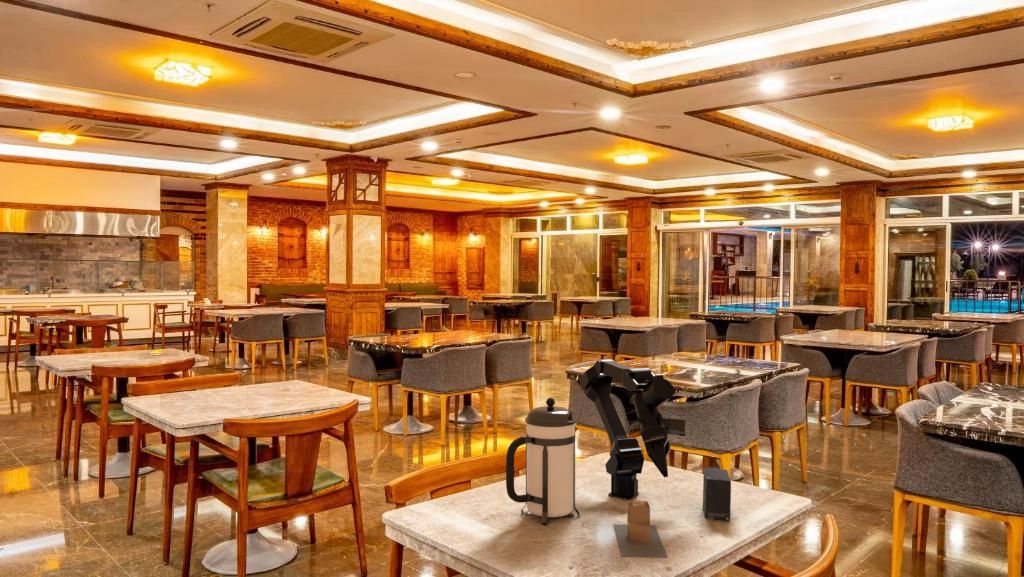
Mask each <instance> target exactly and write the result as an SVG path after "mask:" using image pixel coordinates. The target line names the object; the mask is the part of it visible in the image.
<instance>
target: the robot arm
mask: <svg viewBox="0 0 1024 577" xmlns="http://www.w3.org/2000/svg"><path fill="white" fill-rule="evenodd" d="M615 380H618V381H620V382H621V385H622V387H624V388H625V389H626V390H628V391H638V392H633V393H632V396H631V398H630V400H629V404H633V405H634V407H635V408H634V409H635V412H636V415H637V416H636V417H637V419H638V422H639V423H638V424H639V426H640V430H641V432H640V435H641V439H642V441H643V444H644V447H645V451H646V455H647V456H648V458H649V459H650V460H651V462H652V463H653V464H654V465H655V467H656V468H657V470H658V471H659V473H660V474H661V475H662V477H664V478H668V477H669V472H668V460H667V459H668V458H667V457H668V455H669V453H670V452H671V445H670V442H669V435H673V436H674V435H675V436H676V435H677V436H680V437H686V435H687V434H686V433H687V432H686V431H687V421H686V420H685V419H682V418H669V417H668V418H667V417H663V414H662V413H661V412H660V408H659V407H661V406H663V405H664V404H665V403H666V402H668V401H669V400H671V399H672V398H673V397H674V395H675V387H674V385H673V384H672V382H670V381H669V380H668V379H666V378H664V375H663V374H655V373H654V372H653V371H652V368H649V367H632V366H629V365H626V364H624V363H620V362H618V361H615V360H614V359H611V358H609V359H608V358H607V359H598V360H596V362H595V363H594V364H593V365H592V366H591V367H590V368H588V369H586V370H585V371H584V373H583V374H582V376H581V378H580V384H579V385H580V388H581V389H582V391H583V393H584V395H585V397H586V398H587V399H589V400H590V401H592V402H593V403H594V404H595V407H596V409H597V412H598V414H599V417H600V419H601V422H602V424H603V427H604V430H605V431H606V434H607V436H608V440H609V441H610V444H611V447H610V451H609V459H608V460H607V462H606V463H605V470H606V473H607V474H609V475H610V478H611V479H610V492H609V493H608V494H607V495H608V496H609V497H613V498H617V499H623V500H627V501H631V500H632V499H634V498H635V497H637V496H638V495H640V492H639V480H638V478H637V476H638V475H637V474H639V475H641V474H642V471H643V467H644V464H645V463H644V462H645V456H644V454H643V452H642V451H643V449H642V448H641V446H640V444H639V441H638V439H637V438H636V437H633V438H632V437H629V436H628V434H627V432H626V429H625V427H624V425H623V422H622V421H621V418H620V416H619V413H618V411H617V409H616V406H615V403H614V402H613V399H612V397H611V391H612V384H613V383H614V381H615Z"/></svg>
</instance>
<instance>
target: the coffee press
mask: <svg viewBox="0 0 1024 577" xmlns="http://www.w3.org/2000/svg"><path fill="white" fill-rule="evenodd" d="M545 404H546V405H547V406H545V405H544V406H537V407H534V408H531V409H530V410H529V411H528V413H527V416H525V418H524V422H525V424H526V432H525V436H519V437H516V439H514V440H513V441H512V442H511V443H510V444H509V446H508V448H507V452H506V458H505V469H506V470H505V487H506V488H505V489H506V494H507V495H508V497H509V499H510V500H512V501H514V502H515V503H523V504H524V506H523V508H521V510H520V511H521V512H520V513H521V515H524V514H525V515H527V514H528V513H531V514H532V515H534V516H535V515H536V516H539V517H541V526H546V527H547V526H548V524H549V519H550V518H559V517H564V516H567V515H570V516H571V517H572V518H574V517H575V514H574V513H573V510H574V511H575V513H576V515H577V516H578V517H577V518H578V519H579V518H580V516H581V513H580V512H579V510H578V509H577V506H576V432H575V427H577V418H576V417H575V415H574V413H573V412H572V411H571V410H570V409H568V408H567V407H563V406H555V404H556V400H555V399H554V398H553V397H548V398H547V399H546V401H545ZM522 445H525V494H520V495H519V494H517V492H516V490H515V455H516V451H517V450H518V448H519V447H521V446H522ZM524 508H527V510H528V511H526V512H525V511H524Z"/></svg>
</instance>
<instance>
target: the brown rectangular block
mask: <svg viewBox="0 0 1024 577" xmlns="http://www.w3.org/2000/svg"><path fill="white" fill-rule="evenodd" d="M626 512H627V514H626V517H627V518H626V523H627V524H626V525H628V538H629V541H630V542H640V543H650V525H651V507H650V505H649V502H648V501H647V500H627V511H626Z"/></svg>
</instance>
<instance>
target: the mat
mask: <svg viewBox="0 0 1024 577" xmlns="http://www.w3.org/2000/svg"><path fill="white" fill-rule="evenodd" d="M613 528H614V529H613V530H614V534H615V537H616V541H617V545H618V548H619V555H620V558H649V559H650V558H652V559H655V558H657V559H669V556H668V554H667V551H666V549H665V546H664V544H663V541H662V539H661V536H660V535H659V532H658V530H657V527H656V524H650V543H640V542H630V541H629V538H628V524H622V523H620V524H617V523H615V524H614V523H613Z"/></svg>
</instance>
